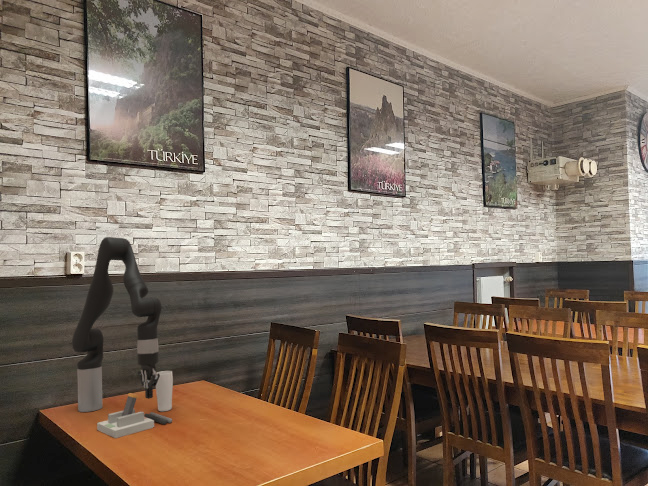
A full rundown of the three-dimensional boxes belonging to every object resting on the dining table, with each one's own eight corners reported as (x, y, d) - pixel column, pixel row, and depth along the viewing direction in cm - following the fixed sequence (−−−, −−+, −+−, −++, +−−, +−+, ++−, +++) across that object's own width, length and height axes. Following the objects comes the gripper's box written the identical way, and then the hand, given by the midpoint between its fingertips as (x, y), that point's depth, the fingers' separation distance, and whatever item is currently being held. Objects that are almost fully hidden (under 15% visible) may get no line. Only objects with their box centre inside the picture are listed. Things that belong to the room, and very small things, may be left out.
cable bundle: (143, 418, 189) (143, 413, 189) (152, 415, 191) (152, 411, 191) (163, 425, 178) (163, 420, 178) (173, 422, 181) (172, 418, 181)
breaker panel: (97, 429, 176) (96, 414, 177) (134, 420, 186) (134, 405, 187) (115, 438, 166) (115, 421, 166) (154, 427, 176) (153, 411, 176)
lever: (120, 417, 177) (127, 392, 180) (124, 418, 178) (132, 393, 181) (126, 420, 174) (134, 394, 176) (131, 420, 175) (138, 395, 178)
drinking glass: (168, 412, 195) (167, 374, 196) (152, 412, 196) (151, 374, 197) (176, 407, 201) (175, 370, 202) (161, 407, 203) (160, 370, 204)
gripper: (130, 351, 186) (131, 397, 185) (146, 354, 177) (148, 403, 176) (148, 348, 191) (150, 393, 190) (166, 350, 182) (167, 398, 181)
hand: (149, 397), depth 183 cm, fingers closed
